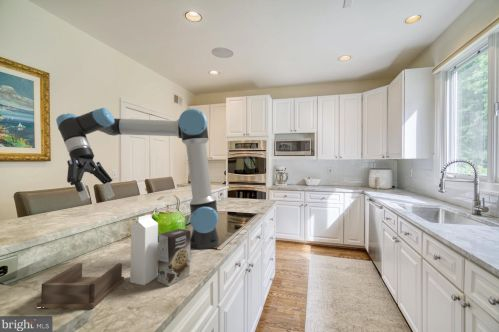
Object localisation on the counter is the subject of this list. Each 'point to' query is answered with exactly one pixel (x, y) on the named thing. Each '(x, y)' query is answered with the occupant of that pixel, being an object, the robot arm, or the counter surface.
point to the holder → (79, 288)
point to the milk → (144, 250)
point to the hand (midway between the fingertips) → (99, 198)
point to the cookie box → (173, 256)
